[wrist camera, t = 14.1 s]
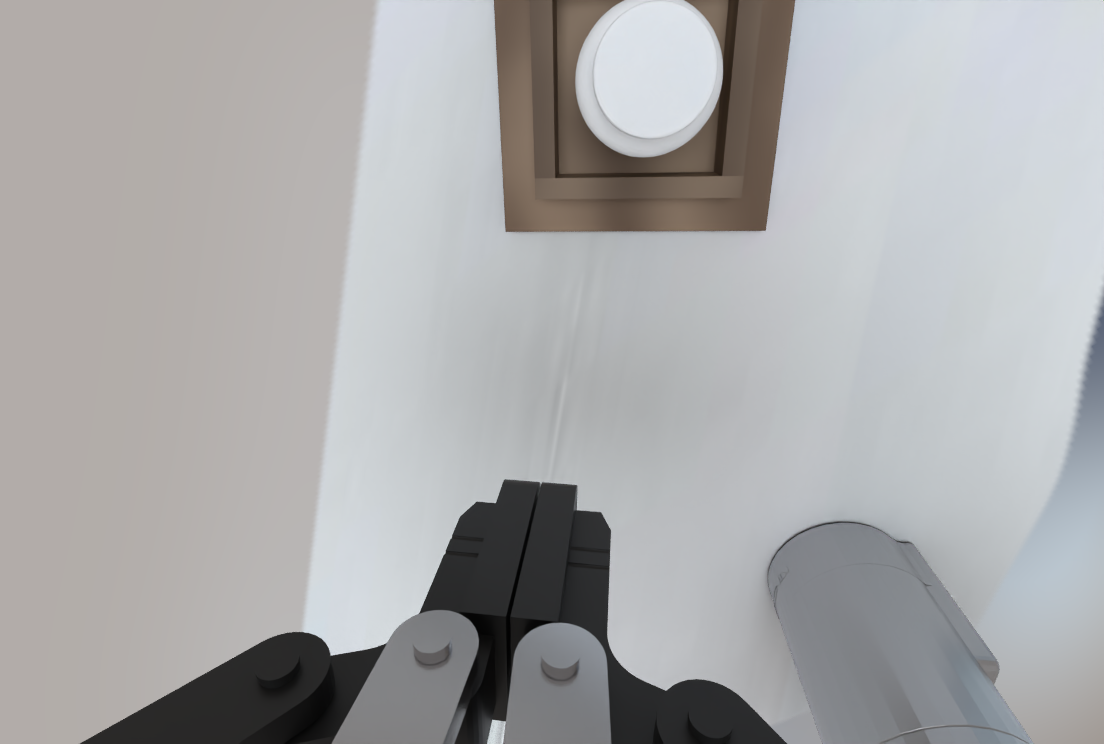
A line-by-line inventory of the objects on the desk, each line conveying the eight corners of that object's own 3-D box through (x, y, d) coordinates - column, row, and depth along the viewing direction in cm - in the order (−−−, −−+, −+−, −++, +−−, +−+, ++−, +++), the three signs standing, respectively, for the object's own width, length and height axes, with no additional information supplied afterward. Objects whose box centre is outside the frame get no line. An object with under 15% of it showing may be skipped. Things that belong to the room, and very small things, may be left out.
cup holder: (800, -89, 26) (827, -118, 23) (761, 227, 32) (778, 239, 28) (493, -73, 27) (478, -99, 24) (508, 228, 33) (497, 240, 30)
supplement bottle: (720, 91, 28) (777, 76, 19) (632, 174, 30) (643, 199, 21) (645, -6, 27) (666, -73, 18) (557, 88, 29) (534, 72, 19)
